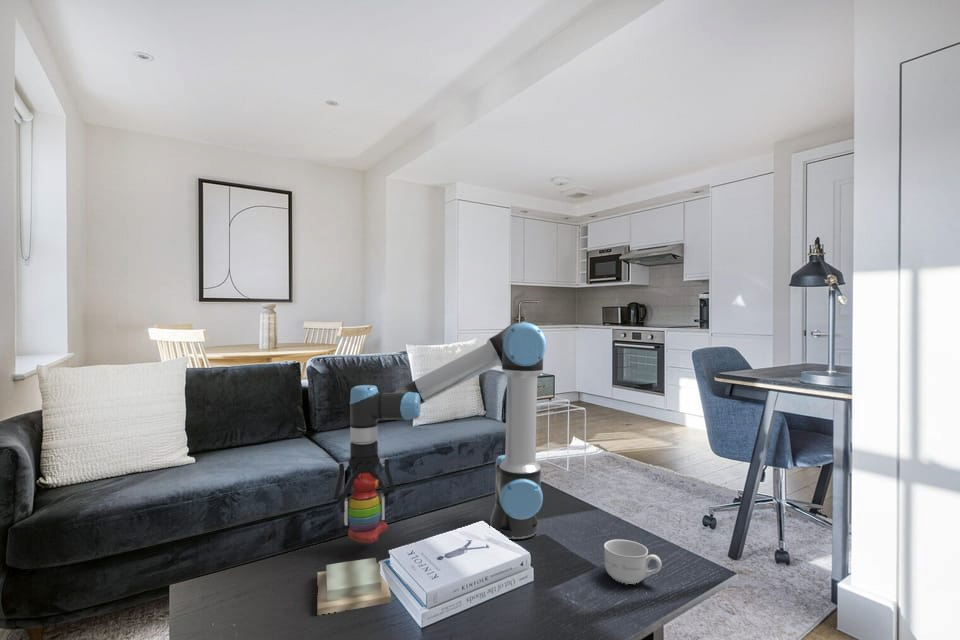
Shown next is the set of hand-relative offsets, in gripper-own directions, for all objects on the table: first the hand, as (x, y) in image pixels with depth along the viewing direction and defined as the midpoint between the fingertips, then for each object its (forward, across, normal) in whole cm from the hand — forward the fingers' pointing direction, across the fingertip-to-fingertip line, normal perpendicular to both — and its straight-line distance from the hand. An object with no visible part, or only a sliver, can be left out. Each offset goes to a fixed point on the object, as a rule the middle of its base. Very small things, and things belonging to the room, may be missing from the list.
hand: (364, 520), depth 133 cm
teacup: (+10, -62, +36) cm, 73 cm away
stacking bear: (+4, 0, 0) cm, 4 cm away
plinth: (+9, +5, +19) cm, 21 cm away
